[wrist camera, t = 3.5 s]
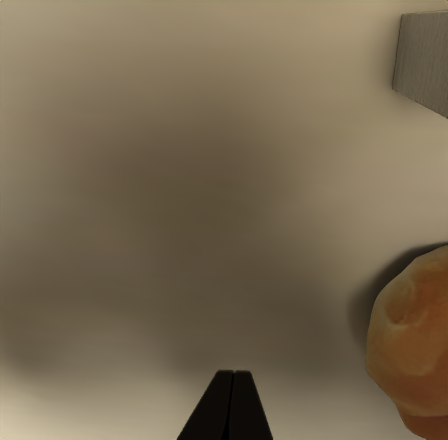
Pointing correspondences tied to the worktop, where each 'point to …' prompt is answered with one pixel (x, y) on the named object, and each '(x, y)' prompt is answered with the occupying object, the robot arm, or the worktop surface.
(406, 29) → the rail pocket
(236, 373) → the robot arm
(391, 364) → the pastry
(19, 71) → the worktop surface
